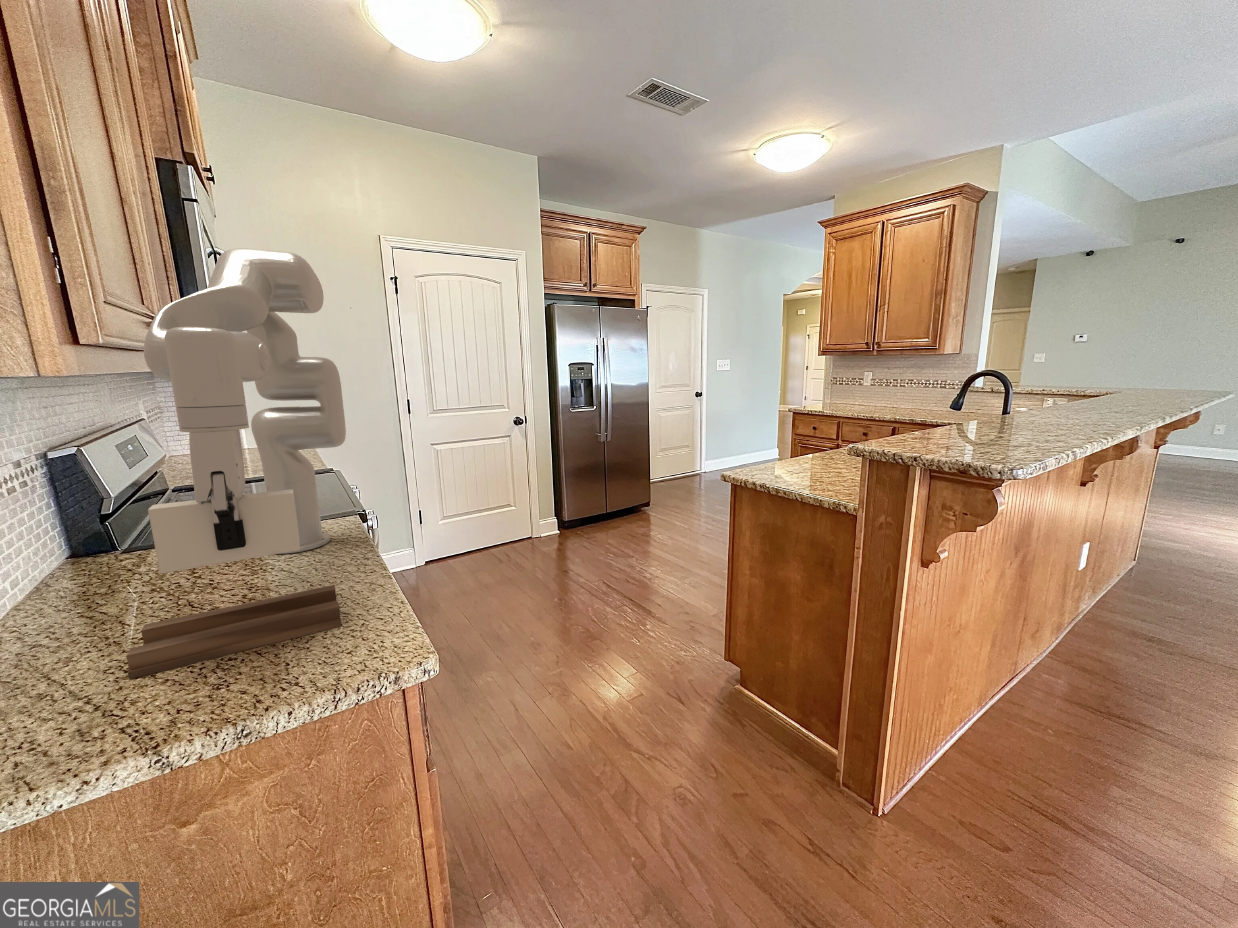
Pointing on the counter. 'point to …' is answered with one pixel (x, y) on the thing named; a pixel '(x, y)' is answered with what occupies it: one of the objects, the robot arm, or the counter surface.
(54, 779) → the counter surface
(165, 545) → the white rectangular slab
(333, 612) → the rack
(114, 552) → the counter surface
